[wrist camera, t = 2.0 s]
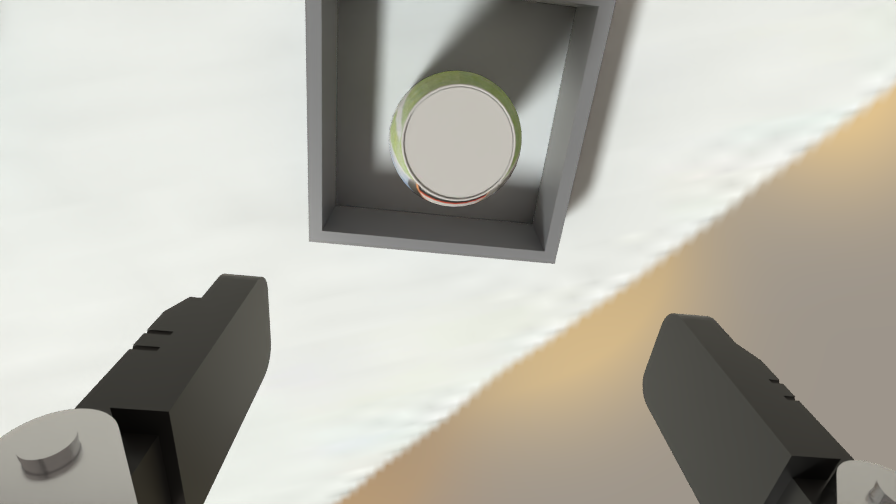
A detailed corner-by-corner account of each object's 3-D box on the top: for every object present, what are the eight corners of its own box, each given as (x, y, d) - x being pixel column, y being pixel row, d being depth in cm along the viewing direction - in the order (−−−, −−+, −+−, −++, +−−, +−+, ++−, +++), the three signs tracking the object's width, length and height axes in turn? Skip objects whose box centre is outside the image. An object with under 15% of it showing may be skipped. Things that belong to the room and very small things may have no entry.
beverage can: (388, 158, 33) (364, 230, 22) (408, 42, 30) (392, 59, 19) (479, 177, 33) (498, 256, 23) (508, 66, 30) (547, 96, 19)
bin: (323, -42, 28) (304, -51, 23) (592, -7, 29) (618, -10, 24) (324, 214, 34) (309, 241, 30) (541, 235, 35) (554, 263, 31)
